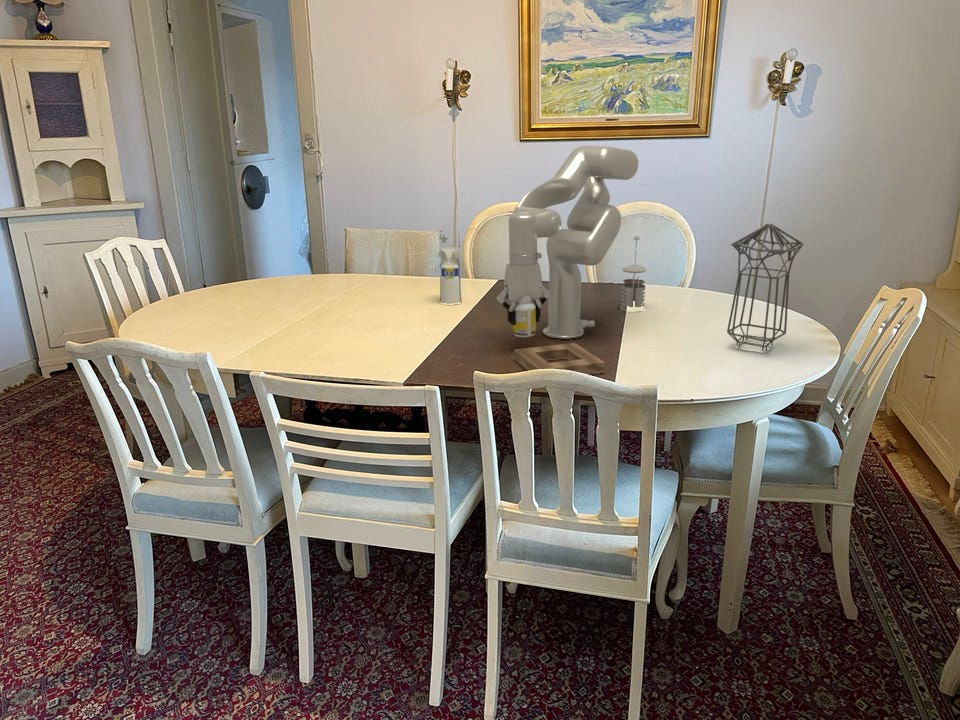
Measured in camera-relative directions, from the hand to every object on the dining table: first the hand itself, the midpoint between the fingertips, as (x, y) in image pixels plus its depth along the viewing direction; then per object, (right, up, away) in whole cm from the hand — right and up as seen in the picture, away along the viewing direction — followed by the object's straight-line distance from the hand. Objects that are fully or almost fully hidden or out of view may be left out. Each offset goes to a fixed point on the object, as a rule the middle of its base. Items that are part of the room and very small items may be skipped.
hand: (524, 321), depth 201 cm
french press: (+40, +6, +45) cm, 61 cm away
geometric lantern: (+65, -8, +2) cm, 66 cm away
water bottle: (-23, +9, +56) cm, 61 cm away
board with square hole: (+8, -12, -11) cm, 19 cm away
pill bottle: (0, -4, +1) cm, 4 cm away
